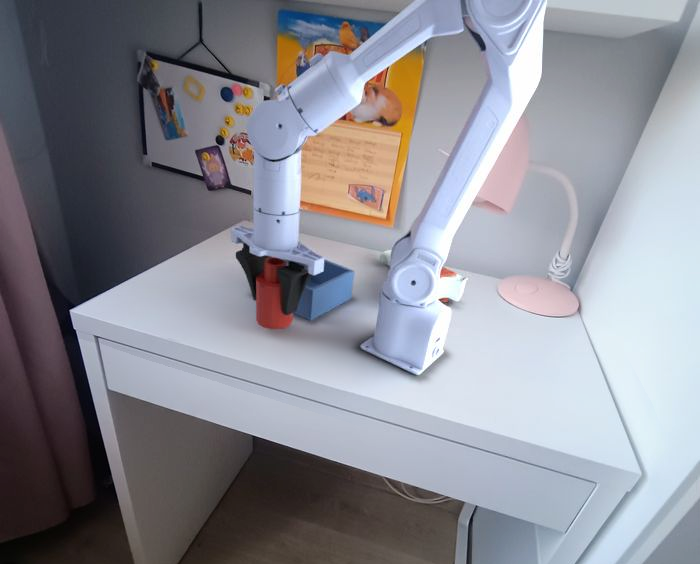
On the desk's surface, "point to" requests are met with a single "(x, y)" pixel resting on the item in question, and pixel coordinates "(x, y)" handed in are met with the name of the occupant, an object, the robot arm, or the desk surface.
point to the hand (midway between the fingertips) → (274, 305)
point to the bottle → (270, 296)
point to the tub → (325, 291)
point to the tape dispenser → (448, 285)
